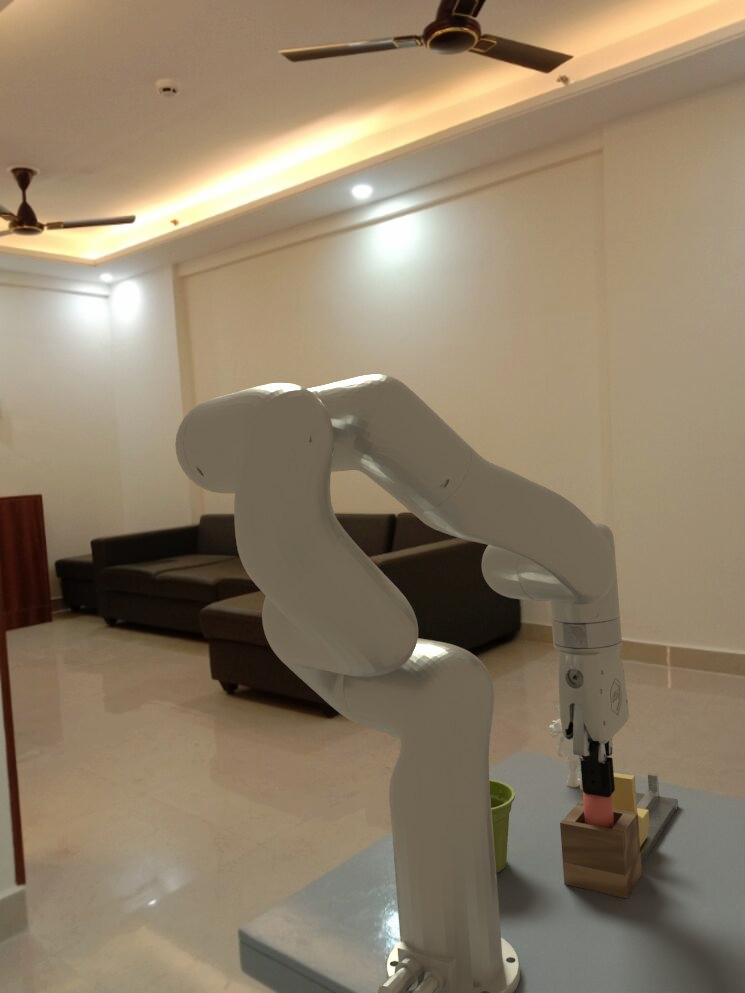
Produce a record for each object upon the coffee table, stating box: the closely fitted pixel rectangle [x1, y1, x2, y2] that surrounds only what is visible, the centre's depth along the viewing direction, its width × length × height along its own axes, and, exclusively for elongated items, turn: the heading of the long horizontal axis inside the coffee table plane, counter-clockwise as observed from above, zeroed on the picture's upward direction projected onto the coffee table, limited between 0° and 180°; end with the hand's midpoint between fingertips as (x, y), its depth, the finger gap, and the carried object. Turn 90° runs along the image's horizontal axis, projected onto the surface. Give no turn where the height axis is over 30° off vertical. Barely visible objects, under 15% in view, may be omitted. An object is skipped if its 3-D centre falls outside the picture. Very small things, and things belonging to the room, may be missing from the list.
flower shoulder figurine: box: [548, 703, 583, 791], centre depth 116 cm, size 9×4×12 cm, turn 39°
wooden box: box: [559, 802, 643, 899], centre depth 90 cm, size 6×7×7 cm
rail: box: [636, 773, 679, 867], centre depth 101 cm, size 19×6×4 cm, turn 146°
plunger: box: [582, 791, 614, 829], centre depth 90 cm, size 3×3×5 cm
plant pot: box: [489, 779, 516, 874], centre depth 95 cm, size 9×9×9 cm
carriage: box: [612, 772, 650, 847], centre depth 96 cm, size 5×5×8 cm
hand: (598, 792), depth 90 cm, fingers closed
